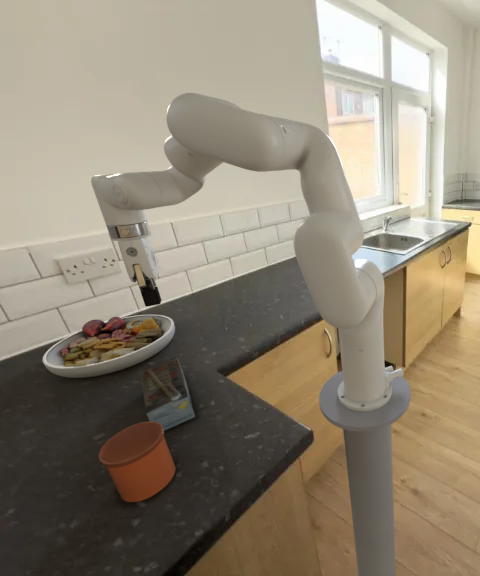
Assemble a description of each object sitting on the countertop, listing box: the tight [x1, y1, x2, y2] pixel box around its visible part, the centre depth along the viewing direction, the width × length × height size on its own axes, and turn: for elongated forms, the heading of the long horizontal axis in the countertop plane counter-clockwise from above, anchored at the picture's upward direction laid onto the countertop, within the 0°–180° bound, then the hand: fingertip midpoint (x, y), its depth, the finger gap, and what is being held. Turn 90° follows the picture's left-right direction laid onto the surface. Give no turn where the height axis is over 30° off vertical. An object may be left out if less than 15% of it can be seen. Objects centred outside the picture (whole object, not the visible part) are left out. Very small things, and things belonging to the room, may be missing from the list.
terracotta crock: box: [98, 421, 176, 503], centre depth 54 cm, size 9×9×9 cm
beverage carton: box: [141, 356, 196, 431], centre depth 72 cm, size 8×19×7 cm, turn 37°
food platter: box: [42, 314, 176, 379], centre depth 93 cm, size 30×30×8 cm
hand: (153, 303), depth 80 cm, fingers closed
